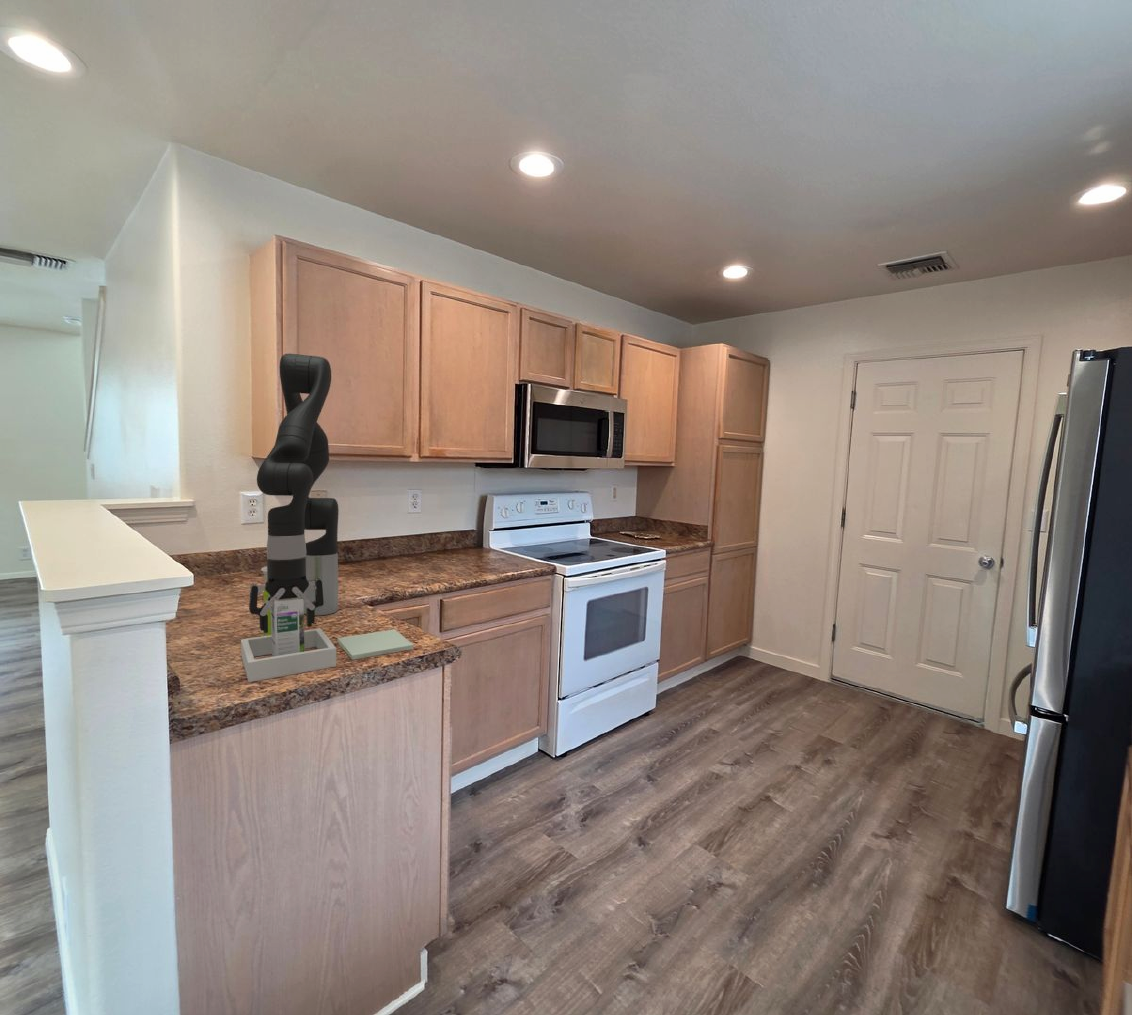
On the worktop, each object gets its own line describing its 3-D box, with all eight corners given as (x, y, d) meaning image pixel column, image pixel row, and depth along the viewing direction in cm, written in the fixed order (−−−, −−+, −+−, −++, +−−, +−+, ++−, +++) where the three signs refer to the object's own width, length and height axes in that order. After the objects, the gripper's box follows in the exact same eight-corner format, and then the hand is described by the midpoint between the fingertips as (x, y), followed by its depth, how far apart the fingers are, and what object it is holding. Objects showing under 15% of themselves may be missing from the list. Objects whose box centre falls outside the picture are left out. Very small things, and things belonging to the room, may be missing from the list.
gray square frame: (241, 656, 121) (241, 639, 120) (320, 644, 130) (320, 628, 130) (248, 682, 107) (248, 662, 107) (336, 666, 117) (336, 648, 116)
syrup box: (275, 668, 115) (274, 601, 113) (271, 660, 119) (270, 595, 118) (304, 663, 118) (304, 598, 117) (299, 655, 123) (298, 592, 121)
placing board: (337, 642, 132) (337, 638, 132) (394, 632, 140) (394, 629, 140) (352, 659, 121) (352, 655, 121) (413, 648, 129) (413, 644, 129)
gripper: (318, 550, 124) (319, 620, 125) (246, 555, 116) (248, 629, 117) (325, 555, 118) (326, 628, 119) (250, 560, 110) (251, 638, 111)
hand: (287, 628), depth 118 cm, fingers open, 8 cm apart
